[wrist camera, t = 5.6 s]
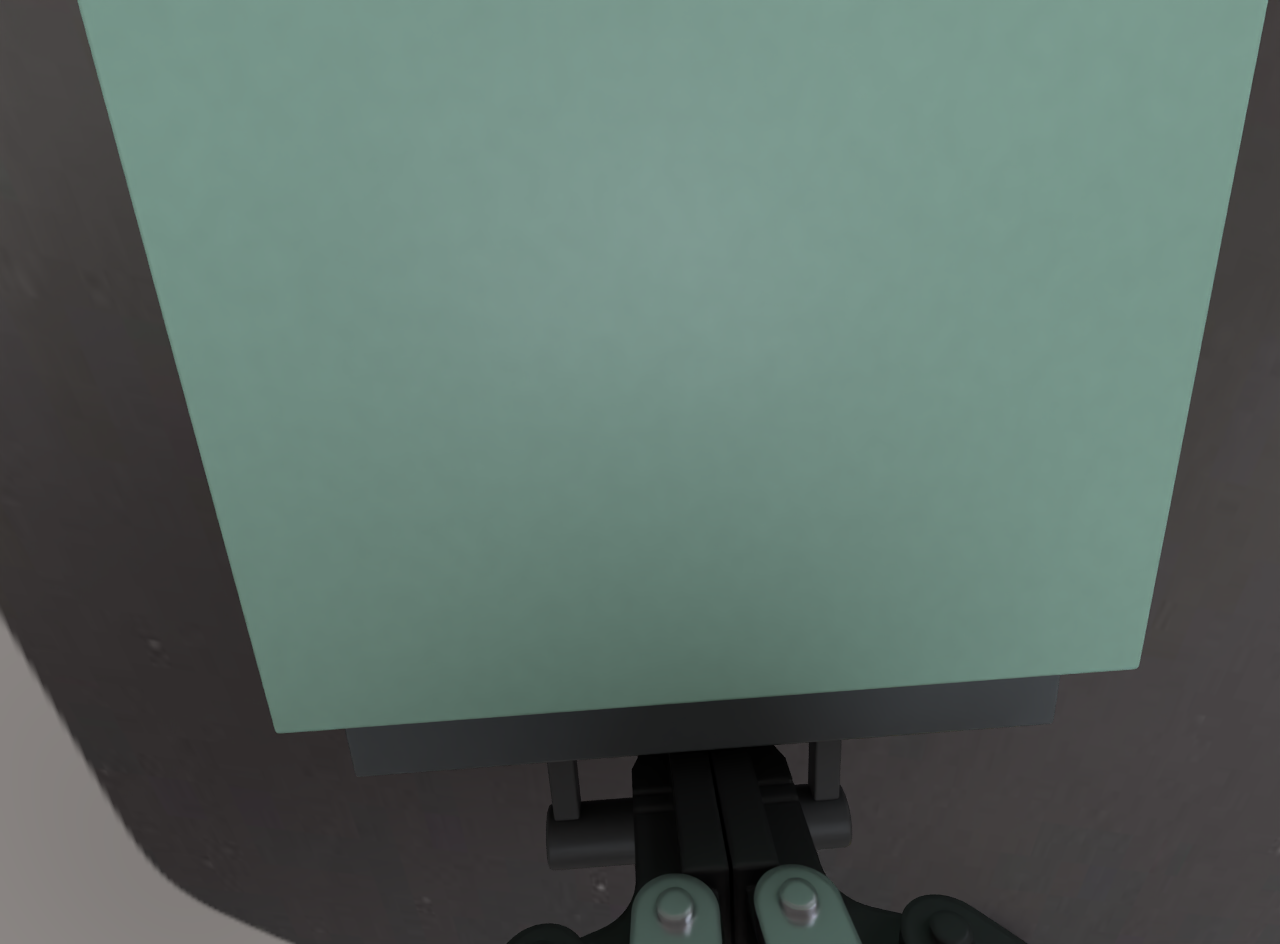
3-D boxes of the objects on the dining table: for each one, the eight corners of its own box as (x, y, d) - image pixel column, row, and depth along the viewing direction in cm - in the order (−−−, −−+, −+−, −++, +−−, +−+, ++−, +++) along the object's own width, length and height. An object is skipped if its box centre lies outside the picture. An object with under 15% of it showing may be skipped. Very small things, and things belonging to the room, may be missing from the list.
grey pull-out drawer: (879, 701, 21) (1021, 943, 14) (476, 732, 21) (404, 994, 14) (924, -63, 15) (1221, -351, 8) (353, -32, 15) (102, -297, 8)
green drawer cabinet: (901, 476, 20) (1140, 670, 11) (428, 509, 20) (274, 736, 11) (943, -200, 15) (1440, -860, 6) (315, -168, 15) (-147, -807, 6)
